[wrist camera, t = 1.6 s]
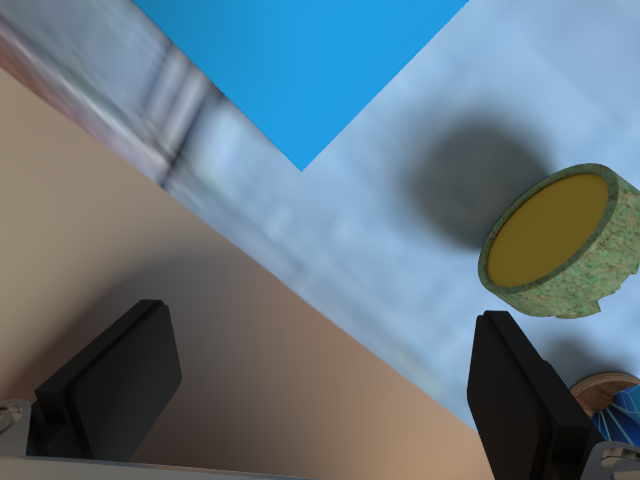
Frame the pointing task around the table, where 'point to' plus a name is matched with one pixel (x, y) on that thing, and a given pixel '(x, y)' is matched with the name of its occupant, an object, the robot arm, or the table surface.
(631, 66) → the table surface
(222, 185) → the table surface
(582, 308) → the decorative artifact
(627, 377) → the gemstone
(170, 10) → the book
